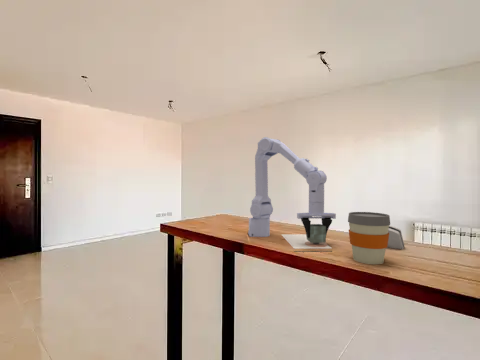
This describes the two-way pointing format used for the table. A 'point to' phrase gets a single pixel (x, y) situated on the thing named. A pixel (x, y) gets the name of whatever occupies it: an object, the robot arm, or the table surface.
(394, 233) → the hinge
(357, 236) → the reusable coffee cup
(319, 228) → the collar
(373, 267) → the table surface
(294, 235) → the post board
